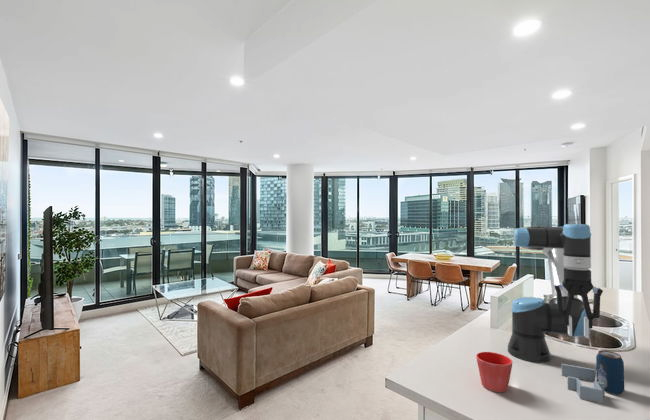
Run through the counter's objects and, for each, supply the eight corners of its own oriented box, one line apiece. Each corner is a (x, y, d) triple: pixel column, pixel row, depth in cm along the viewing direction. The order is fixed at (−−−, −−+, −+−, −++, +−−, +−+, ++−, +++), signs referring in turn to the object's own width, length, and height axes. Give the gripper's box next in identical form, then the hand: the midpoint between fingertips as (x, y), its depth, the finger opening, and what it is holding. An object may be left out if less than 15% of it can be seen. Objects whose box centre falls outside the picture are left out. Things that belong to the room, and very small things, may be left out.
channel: (571, 396, 102) (571, 384, 102) (561, 374, 117) (561, 363, 117) (609, 405, 98) (609, 391, 98) (594, 380, 112) (594, 369, 112)
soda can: (625, 390, 106) (624, 353, 106) (623, 398, 101) (623, 360, 102) (597, 382, 111) (597, 347, 111) (595, 390, 106) (594, 353, 107)
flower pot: (480, 375, 116) (480, 348, 116) (515, 385, 109) (514, 356, 110) (472, 387, 108) (472, 358, 108) (509, 399, 101) (509, 368, 101)
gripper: (549, 268, 111) (550, 335, 111) (612, 272, 103) (613, 344, 103) (546, 265, 118) (546, 328, 118) (605, 268, 110) (606, 336, 110)
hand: (578, 335), depth 110 cm, fingers open, 4 cm apart
